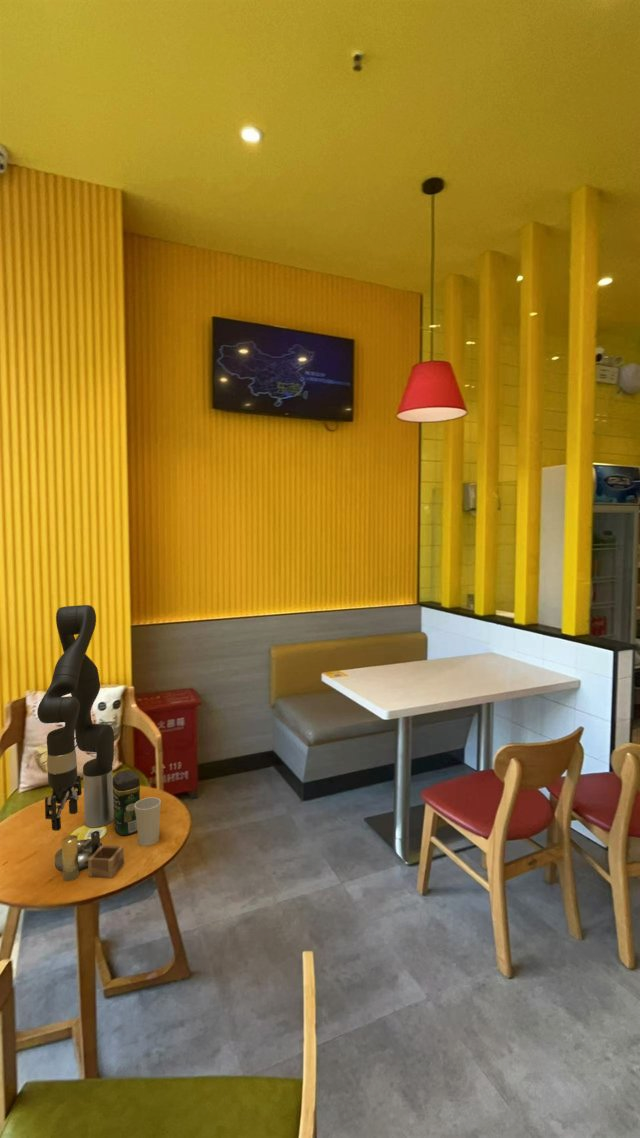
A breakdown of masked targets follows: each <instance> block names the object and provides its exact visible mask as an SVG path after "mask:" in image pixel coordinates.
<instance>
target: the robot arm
mask: <svg viewBox="0 0 640 1138" xmlns="http://www.w3.org/2000/svg"><path fill="white" fill-rule="evenodd" d="M55 622H56V629H57V634H58V637H59V641H60V644H61V648H62V652H63V653H62V655H60V656H59V659H58V660H57V661H56V664H55V666H54V671H53V673H52V674H53V675H52V678H51V682H50V684H49V686H48V687H47V688H48V689H46V692H45V694H44V695H43V697H42V698H41V701H40V702H39V704H38V707H37V719H38V720H39V721H40V722H41V723H42V724H59V723H61V724H62V723H64V726H63V727H58V728H55V729H53V730H51V731H49V732H48V734H47V735H46V750H47V756H46V757H47V758H46V769H47V770H46V771H47V783H48V784H47V785H48V786H49V787H50V788H51V789H52V793H51V796H46V797H45V798H44V814H45V816H44V817H45V820H51V830H52V831H55V832H56V831H57V832H59V831H60V830H61V829H62V820H61V819H62V818H61V814H62V811H63V810H64V808H65V805H66V803H67V802H68V814H71V815H77V813H78V800H79V798H80V797H79V796H81V795H82V793H83V806H84V807H83V809H84V813H83V814H84V825H85V826H86V827H89V828H100V827H104V826H106V825H109V824H110V823H112V822H114V805H113V777H114V776H113V763H114V757H115V732H114V727H113V726H112V725H111V724H108V723H107V724H106V723H93V720H92V713H91V712H92V711H91V710H92V707H93V705H94V704H95V701H96V699H97V698H98V696H99V693H100V691H101V682H100V674H99V670H98V667H97V665H96V664H95V662H94V661H93V660H92V659H91V658H90V657H89V656H88V655H87V654H86V653H87V651H88V648H89V646H90V644H91V640H92V638H93V635H94V632H95V630H96V629H95V628H96V625H97V624H96V623H97V613H96V610H95V608H94V607H93V606H92V605H89V604H82V605H80V604H79V605H67V606H61V607H59V608H58V609H57V611H56V612H55ZM75 635H77V637H75ZM67 695H70V696H67ZM76 746H77V748H78V750H79V751H81V752H84V753H96V758H93V759H89V760H88V761H86V762H85V763H84V764H83V766H82V777H83V778H82V780H83V792H82V781H81V776H80V775H78V762H77V754H76ZM76 789H77V790H76Z"/></svg>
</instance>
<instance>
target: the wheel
mask: <svg viewBox="0 0 640 1138" xmlns="http://www.w3.org/2000/svg"><path fill="white" fill-rule="evenodd" d="M100 835H101V834H100V831H99V830H95V831H92V832H90V838H87V839H85V838H84V839H83V840H84V844H85V848H84V849H83V850H81V851H78V868H79V871H80V870H83V869H87V868H88V859H89V858H90V857H91V856H92V855H93V854H94V853H95V851H96V850H97V849H98V848H99V847H100V846H104V845H103V843H102V842H101V836H100ZM54 862H55V863H54V864H55V865H54V866H55V867H56V868H57V869H58V870H60V871H63V861H62V847H61V848H60V849H59V850H58V851H57V852H56V853H55V856H54Z"/></svg>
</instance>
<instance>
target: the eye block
mask: <svg viewBox="0 0 640 1138" xmlns="http://www.w3.org/2000/svg"><path fill="white" fill-rule="evenodd" d="M124 849H125V848H124V846H120V845H119V846H117V845H116V846H115V845H113V846H112V845H103V846H100V847H99V848H98V849H97V850H96V851H95V853H94V854H93V855H92V856H91V857H90V858H89V859H88V867H87V868H88V869H87V870H88V871H87V872H88V877H89V878H104V879H105V878H106V879H113V878H114V877H115V875H116V874H117V873H118V872H119V870H120V869H121V868H122V866H123V865H124V864H125V855H124V854H125V851H124Z"/></svg>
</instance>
